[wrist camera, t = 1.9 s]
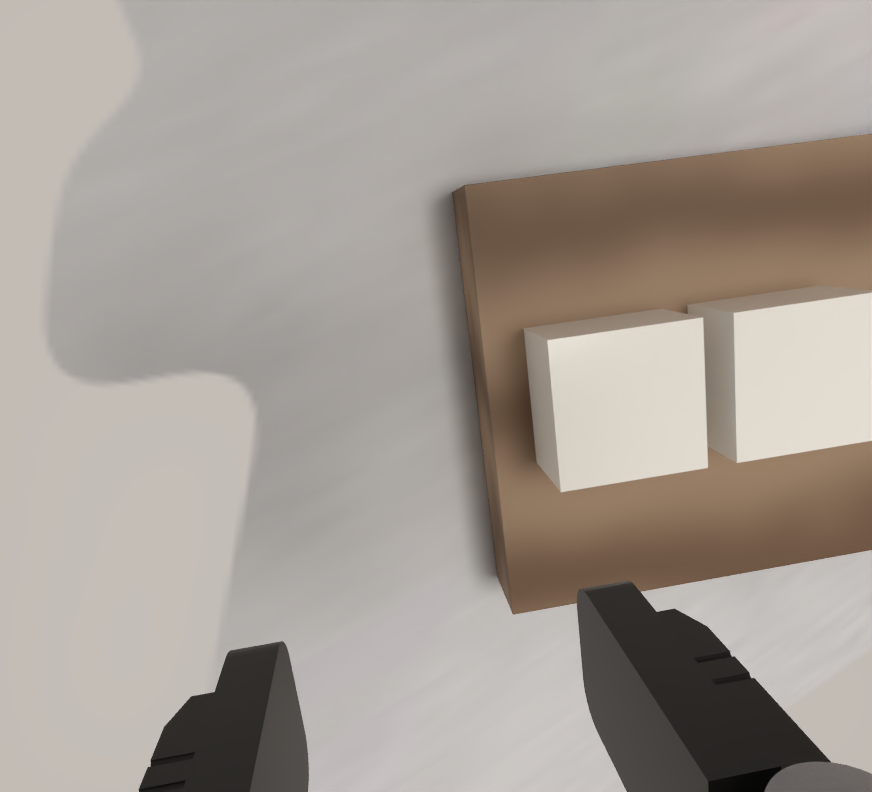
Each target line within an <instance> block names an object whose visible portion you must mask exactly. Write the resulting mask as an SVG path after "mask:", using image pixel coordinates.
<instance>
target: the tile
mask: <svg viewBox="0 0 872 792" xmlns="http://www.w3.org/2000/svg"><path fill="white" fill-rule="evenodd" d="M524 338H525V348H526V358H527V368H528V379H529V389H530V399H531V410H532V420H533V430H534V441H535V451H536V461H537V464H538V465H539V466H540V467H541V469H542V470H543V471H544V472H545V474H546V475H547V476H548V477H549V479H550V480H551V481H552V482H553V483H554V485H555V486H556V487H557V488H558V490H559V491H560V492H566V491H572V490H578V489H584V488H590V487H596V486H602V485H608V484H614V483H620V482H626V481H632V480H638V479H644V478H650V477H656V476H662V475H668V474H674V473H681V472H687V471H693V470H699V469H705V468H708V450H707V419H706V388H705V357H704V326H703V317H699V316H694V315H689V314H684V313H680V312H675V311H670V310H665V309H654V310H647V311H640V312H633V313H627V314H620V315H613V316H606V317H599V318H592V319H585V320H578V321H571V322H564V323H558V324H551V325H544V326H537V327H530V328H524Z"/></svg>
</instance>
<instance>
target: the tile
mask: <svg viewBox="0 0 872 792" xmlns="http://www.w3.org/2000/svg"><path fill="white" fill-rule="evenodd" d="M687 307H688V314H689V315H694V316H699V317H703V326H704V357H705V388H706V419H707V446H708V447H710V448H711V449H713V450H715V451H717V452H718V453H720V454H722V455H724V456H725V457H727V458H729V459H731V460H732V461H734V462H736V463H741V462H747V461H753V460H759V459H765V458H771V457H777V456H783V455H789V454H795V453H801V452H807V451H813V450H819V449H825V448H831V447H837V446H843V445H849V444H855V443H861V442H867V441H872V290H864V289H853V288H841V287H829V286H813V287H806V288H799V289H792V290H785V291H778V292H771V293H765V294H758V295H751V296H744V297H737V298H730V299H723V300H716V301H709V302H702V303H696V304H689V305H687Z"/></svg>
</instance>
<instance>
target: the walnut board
mask: <svg viewBox="0 0 872 792" xmlns="http://www.w3.org/2000/svg"><path fill="white" fill-rule="evenodd" d="M452 193H453V202H454V210H455V219H456V227H457V236H458V244H459V253H460V262H461V270H462V279H463V287H464V296H465V304H466V313H467V321H468V330H469V338H470V347H471V355H472V364H473V373H474V381H475V390H476V398H477V407H478V415H479V424H480V432H481V441H482V449H483V458H484V466H485V475H486V483H487V492H488V501H489V509H490V518H491V526H492V535H493V543H494V552H495V560H496V569H497V577H498V579H499V582H500V584H501V587H502V589H503V591H504V594H505V596H506V599H507V601H508V603H509V606H510V608H511V611H512V613H513V614H519V613H524V612H530V611H535V610H541V609H546V608H552V607H558V606H563V605H569V604H574V603H577V593H578V590H579V589H582V588H588V587H594V586H599V585H605V584H610V583H616V582H622V581H627V580H628V581H631V582H632V583H633V584H634V585H635V586H636V587H637V589H638V590H639V591H640V592H641V591H646V590H652V589H657V588H663V587H668V586H674V585H680V584H685V583H691V582H696V581H702V580H707V579H713V578H718V577H724V576H729V575H735V574H741V573H746V572H752V571H757V570H763V569H768V568H774V567H779V566H785V565H790V564H796V563H801V562H807V561H813V560H818V559H824V558H829V557H835V556H840V555H846V554H851V553H857V552H862V551H868V550H872V441H867V442H861V443H855V444H849V445H843V446H837V447H831V448H825V449H819V450H813V451H807V452H801V453H795V454H789V455H783V456H777V457H771V458H765V459H759V460H753V461H747V462H741V463H736V462H734V461H732V460H731V459H729V458H727V457H725V456H724V455H722V454H720V453H718V452H717V451H715V450H713V449H711V448H710V447H708V446H707V450H708V468H705V469H699V470H693V471H687V472H681V473H674V474H668V475H662V476H656V477H650V478H644V479H638V480H632V481H626V482H620V483H614V484H608V485H602V486H596V487H590V488H584V489H578V490H572V491H566V492H560V491H559V490H558V488H557V487H556V486H555V485H554V483H553V482H552V481H551V480H550V479H549V477H548V476H547V475H546V474H545V472H544V471H543V470H542V469H541V467H540V466H539V465H538V464H537V461H536V451H535V441H534V430H533V420H532V410H531V399H530V389H529V379H528V368H527V358H526V348H525V338H524V328H530V327H537V326H544V325H551V324H558V323H564V322H571V321H578V320H585V319H592V318H599V317H606V316H613V315H620V314H627V313H633V312H640V311H647V310H654V309H665V310H670V311H675V312H680V313H684V314H688V307H687V305H689V304H696V303H702V302H709V301H716V300H723V299H730V298H737V297H744V296H751V295H758V294H765V293H771V292H778V291H785V290H792V289H799V288H806V287H813V286H829V287H841V288H853V289H864V290H872V134H867V135H859V136H851V137H843V138H835V139H827V140H819V141H811V142H803V143H796V144H788V145H780V146H772V147H764V148H756V149H748V150H740V151H732V152H724V153H716V154H708V155H700V156H692V157H685V158H677V159H669V160H661V161H653V162H645V163H637V164H629V165H621V166H613V167H605V168H597V169H589V170H582V171H574V172H566V173H558V174H550V175H542V176H534V177H526V178H518V179H510V180H502V181H494V182H486V183H479V184H471V185H464V186H463V187H461V188H459V189H457V190H456V191H454V192H452Z"/></svg>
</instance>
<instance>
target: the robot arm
mask: <svg viewBox="0 0 872 792" xmlns="http://www.w3.org/2000/svg"><path fill="white" fill-rule="evenodd" d="M577 611H578V623H579V634H580V646H581V657H582V669H583V680H584V688H585V693H586V698H587V702H588V706H589V710H590V713H591V716H592V719H593V722H594V725H595V727H596V729H597V732H598V734H599V736H600V738H601V740H602V742H603V744H604V746H605V748H606V750H607V752H608V754H609V756H610V758H611V760H612V762H613V764H614V766H615V768H616V770H617V772H618V774H619V777H620V779H621V781H622V783H623V785H624V787H625V789H626V791H627V792H872V774H871V773H868V772H866V771H863V770H861V769H857V768H854V767H851V766H847V765H842V764H837V763H831V762H830V760H828V758H827V757H826V756H825V755H824V754H823V753H822V752H821V751H820V750H819V748H818V747H817V746H816V745H815V744H814V743H813V742H812V741H811V740H810V739H809V738H808V736H807V735H806V734H805V733H804V732H803V731H802V730H801V729H800V728H799V727H798V725H797V724H796V723H795V722H794V721H793V720H792V719H791V718H790V717H789V716H788V715H787V713H786V712H785V711H784V710H783V709H782V708H781V707H780V706H779V705H778V703H777V702H776V701H775V700H774V699H773V698H772V697H771V696H770V695H769V694H768V693H767V691H766V690H765V689H764V688H763V687H762V686H761V685H760V684H759V683H758V682H757V680H756V679H755V678H752V679H751V677H750V674H749V672H748V671H747V670H746V668H745V667H744V666H743V665H742V664H741V663H740V662H739V661H738V660H737V659H736V657H735V656H734V657H732V656H731V654H730V651H729V650H728V649H727V648H726V647H725V645H724V644H723V643H722V642H721V641H720V640H719V639H718V638H717V637H716V636H715V634H714V633H713V632H712V631H711V630H710V629H709V628H708V627H707V626H705V625H703V624H702V623H700V622H698V621H696V620H694V619H692V618H691V617H689V616H687V615H685V614H683V613H681V612H680V611H678V610H676V609H671V610H665V611H660V612H656V611H655V610H654V608H653V607H652V606H651V605H650V603H649V602H648V601H647V600H646V598H645V597H644V596H643V595H642V593H641V592H640V591H639V590H638V589H637V587H636V586H635V585H634V584H633V583H632V582H631V581H628V580H627V581H622V582H616V583H610V584H605V585H599V586H594V587H588V588H582V589H579V590H578V593H577ZM308 780H309V767H308V751H307V742H306V735H305V730H304V725H303V720H302V716H301V711H300V706H299V701H298V696H297V691H296V686H295V682H294V677H293V672H292V667H291V662H290V657H289V653H288V650H287V647H286V645H285V643H284V642H276V643H271V644H265V645H259V646H254V647H248V648H243V649H237V650H231V651H229V652H228V654H227V656H226V659H225V662H224V665H223V668H222V671H221V674H220V677H219V680H218V683H217V686H216V689H215V692H213V693H208V694H202V695H197V696H192V697H190V699H189V700H188V701H187V702H186V703H185V704H184V705H183V706H182V708H181V709H180V710H179V711H178V712H177V713H176V714H175V716H174V717H173V718H172V719H171V720H170V721H169V722H168V723H167V725H166V726H165V727H164V729H163V731H162V734H161V736H160V739H159V741H158V743H157V746H156V748H155V751H154V753H153V756H152V758H151V767H148V768H147V771H146V773H145V776H144V778H143V780H142V783H141V785H140V788H139V792H308Z"/></svg>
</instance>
